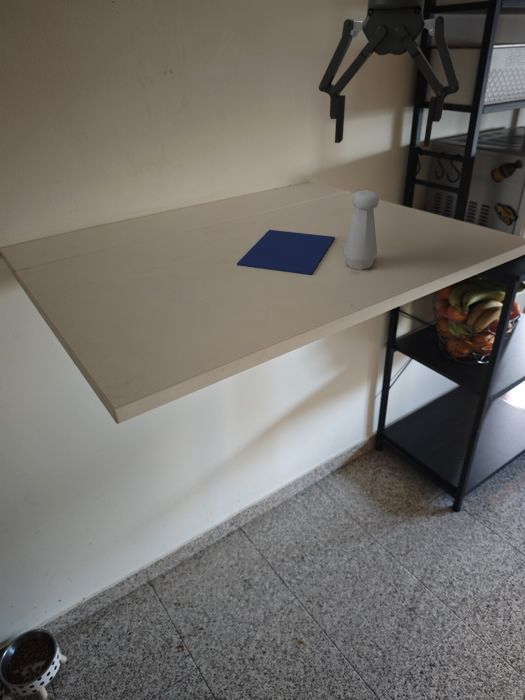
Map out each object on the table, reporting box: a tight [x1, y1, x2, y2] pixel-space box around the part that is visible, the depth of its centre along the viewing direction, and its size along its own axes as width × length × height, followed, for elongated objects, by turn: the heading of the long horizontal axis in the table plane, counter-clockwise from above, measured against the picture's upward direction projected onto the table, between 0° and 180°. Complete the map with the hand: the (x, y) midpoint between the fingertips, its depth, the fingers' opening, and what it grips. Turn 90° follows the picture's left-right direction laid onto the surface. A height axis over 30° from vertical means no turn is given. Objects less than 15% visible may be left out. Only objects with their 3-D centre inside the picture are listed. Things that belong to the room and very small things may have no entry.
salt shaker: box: [343, 189, 380, 271], centre depth 86 cm, size 6×6×13 cm
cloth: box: [236, 229, 336, 276], centre depth 95 cm, size 14×18×1 cm
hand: (381, 143), depth 78 cm, fingers open, 13 cm apart
